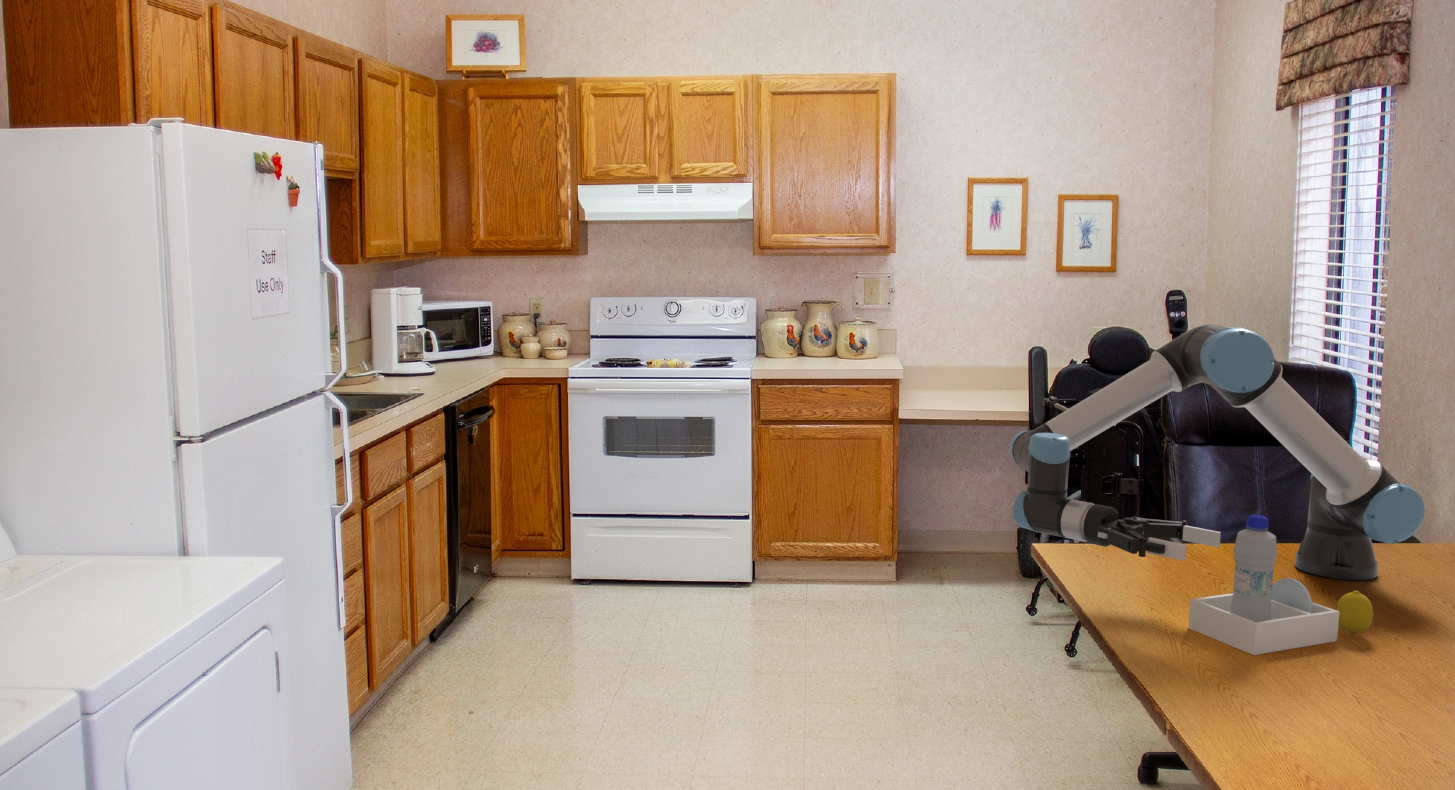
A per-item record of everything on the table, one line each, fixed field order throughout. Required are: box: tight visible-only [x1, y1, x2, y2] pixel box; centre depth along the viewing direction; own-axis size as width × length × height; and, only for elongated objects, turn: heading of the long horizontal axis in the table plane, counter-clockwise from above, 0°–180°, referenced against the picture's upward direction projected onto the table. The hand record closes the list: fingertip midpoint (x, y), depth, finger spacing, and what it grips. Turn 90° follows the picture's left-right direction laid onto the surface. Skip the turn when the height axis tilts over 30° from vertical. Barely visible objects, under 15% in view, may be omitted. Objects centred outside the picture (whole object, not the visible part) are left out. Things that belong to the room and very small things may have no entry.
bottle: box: [1230, 514, 1278, 622], centre depth 190 cm, size 7×7×20 cm
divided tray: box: [1188, 577, 1340, 656], centre depth 192 cm, size 19×14×9 cm
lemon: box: [1335, 590, 1374, 637], centre depth 192 cm, size 6×6×8 cm
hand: (1202, 546), depth 196 cm, fingers open, 13 cm apart
